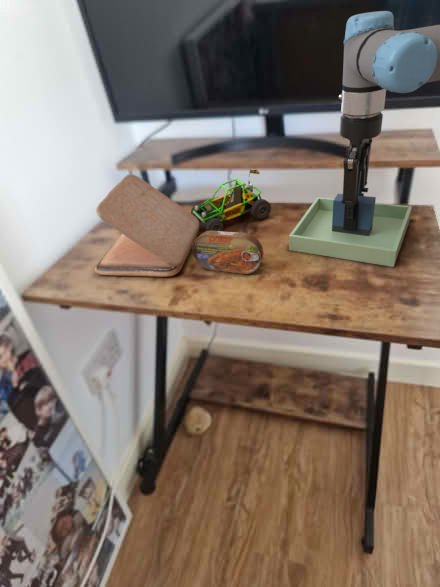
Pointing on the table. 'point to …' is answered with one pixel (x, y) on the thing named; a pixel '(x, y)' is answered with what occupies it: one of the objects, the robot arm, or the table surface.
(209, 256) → the tin
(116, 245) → the case
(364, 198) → the eraser
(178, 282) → the table surface
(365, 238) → the tray
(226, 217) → the motor vehicle
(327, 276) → the table surface
